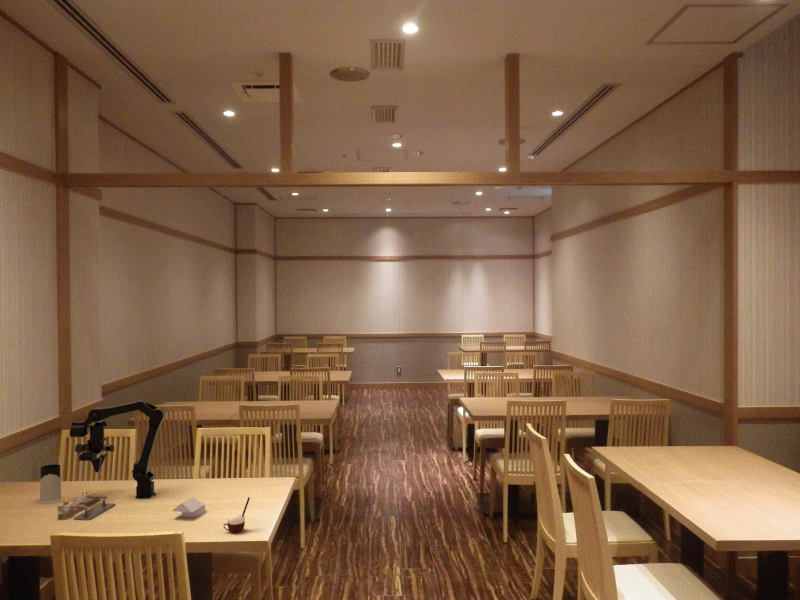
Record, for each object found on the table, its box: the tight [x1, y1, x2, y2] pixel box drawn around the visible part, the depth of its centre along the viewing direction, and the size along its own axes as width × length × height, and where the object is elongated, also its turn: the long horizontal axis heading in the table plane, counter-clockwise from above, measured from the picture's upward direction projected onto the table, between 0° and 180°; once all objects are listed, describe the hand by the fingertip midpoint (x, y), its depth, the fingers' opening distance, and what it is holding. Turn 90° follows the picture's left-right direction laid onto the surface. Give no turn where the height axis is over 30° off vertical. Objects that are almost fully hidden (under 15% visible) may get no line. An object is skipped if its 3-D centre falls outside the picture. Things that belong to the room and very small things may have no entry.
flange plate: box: [73, 502, 116, 521], centre depth 251 cm, size 7×18×1 cm, turn 176°
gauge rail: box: [57, 498, 101, 521], centre depth 254 cm, size 12×24×7 cm, turn 176°
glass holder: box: [38, 464, 63, 505], centre depth 268 cm, size 9×14×15 cm, turn 25°
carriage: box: [76, 489, 108, 505], centre depth 258 cm, size 12×4×6 cm, turn 86°
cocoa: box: [223, 496, 250, 534], centre depth 229 cm, size 10×6×12 cm, turn 87°
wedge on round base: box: [171, 496, 206, 518], centre depth 247 cm, size 9×7×13 cm
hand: (97, 472), depth 268 cm, fingers closed
